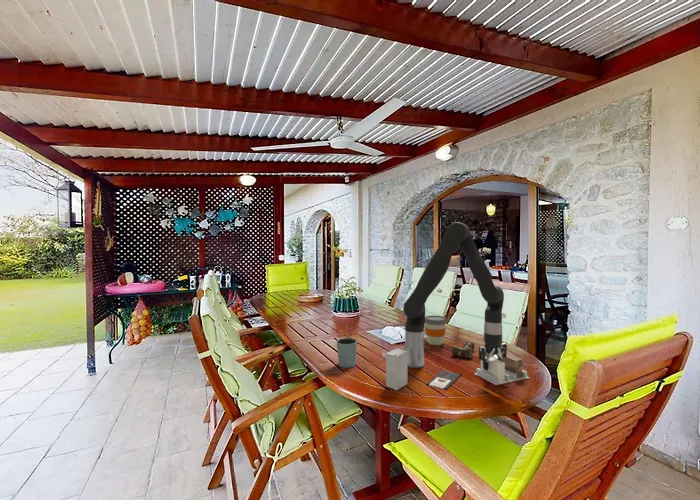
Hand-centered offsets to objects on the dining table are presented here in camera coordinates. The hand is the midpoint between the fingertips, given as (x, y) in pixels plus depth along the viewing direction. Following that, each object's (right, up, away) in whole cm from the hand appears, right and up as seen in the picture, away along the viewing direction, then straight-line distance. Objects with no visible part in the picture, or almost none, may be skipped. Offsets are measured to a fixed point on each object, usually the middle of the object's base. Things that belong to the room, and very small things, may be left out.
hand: (492, 368), depth 154 cm
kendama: (-2, -4, +33) cm, 33 cm away
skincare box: (-43, -6, -5) cm, 44 cm away
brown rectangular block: (+9, -4, +4) cm, 11 cm away
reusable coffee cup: (-12, -3, +53) cm, 55 cm away
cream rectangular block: (0, -4, 0) cm, 4 cm away
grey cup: (-65, -5, +20) cm, 68 cm away
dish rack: (+5, -5, +2) cm, 7 cm away
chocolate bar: (-21, -6, +1) cm, 22 cm away
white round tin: (+14, -5, +20) cm, 24 cm away
